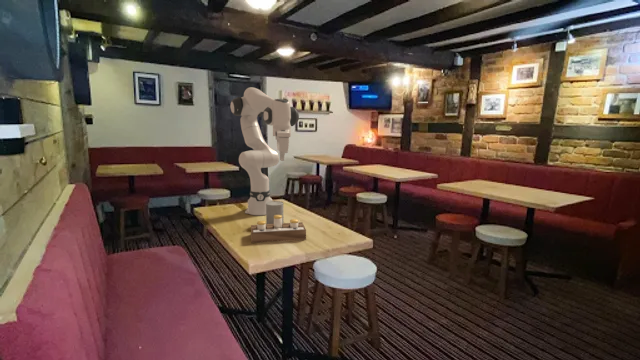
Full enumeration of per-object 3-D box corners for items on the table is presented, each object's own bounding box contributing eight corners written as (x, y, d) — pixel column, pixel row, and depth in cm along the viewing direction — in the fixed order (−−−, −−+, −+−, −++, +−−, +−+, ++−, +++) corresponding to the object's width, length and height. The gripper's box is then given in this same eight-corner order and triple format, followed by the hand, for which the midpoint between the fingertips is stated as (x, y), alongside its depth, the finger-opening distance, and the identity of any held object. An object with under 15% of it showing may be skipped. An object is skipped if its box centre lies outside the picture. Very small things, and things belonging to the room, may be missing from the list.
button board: (251, 234, 169) (251, 224, 168) (302, 231, 174) (302, 222, 173) (251, 243, 157) (251, 232, 156) (306, 239, 162) (306, 229, 161)
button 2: (289, 234, 169) (289, 219, 167) (297, 233, 169) (297, 218, 168) (290, 236, 165) (290, 221, 163) (298, 236, 165) (298, 221, 164)
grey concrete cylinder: (280, 228, 179) (280, 205, 177) (263, 226, 181) (263, 204, 179) (285, 222, 188) (285, 201, 186) (269, 221, 190) (269, 200, 188)
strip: (253, 230, 159) (253, 229, 159) (303, 227, 164) (303, 226, 164) (253, 232, 157) (253, 231, 156) (303, 229, 161) (304, 228, 161)
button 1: (257, 236, 165) (257, 220, 164) (265, 235, 166) (265, 220, 165) (257, 238, 161) (257, 223, 160) (266, 238, 162) (265, 223, 161)
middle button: (273, 230, 166) (273, 215, 165) (281, 229, 167) (281, 214, 166) (274, 232, 163) (274, 217, 161) (282, 232, 163) (282, 216, 162)
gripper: (273, 131, 174) (274, 158, 176) (277, 133, 154) (277, 163, 157) (285, 131, 175) (286, 158, 178) (290, 133, 156) (290, 163, 158)
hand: (282, 160), depth 167 cm, fingers closed
